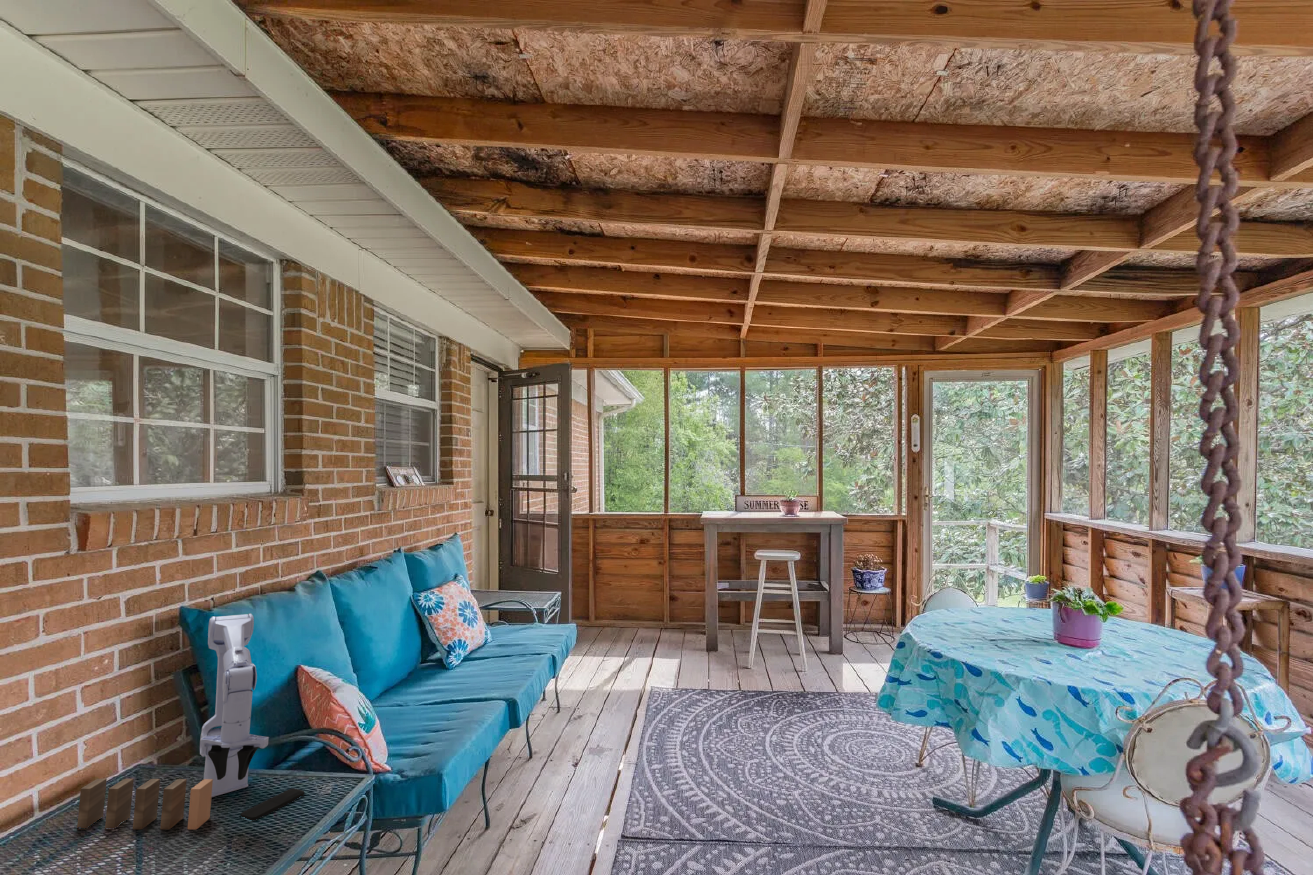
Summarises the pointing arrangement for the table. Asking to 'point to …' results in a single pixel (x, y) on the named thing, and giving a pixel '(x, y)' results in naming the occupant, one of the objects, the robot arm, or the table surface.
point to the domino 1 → (91, 803)
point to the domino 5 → (200, 804)
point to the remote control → (272, 804)
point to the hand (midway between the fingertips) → (231, 777)
